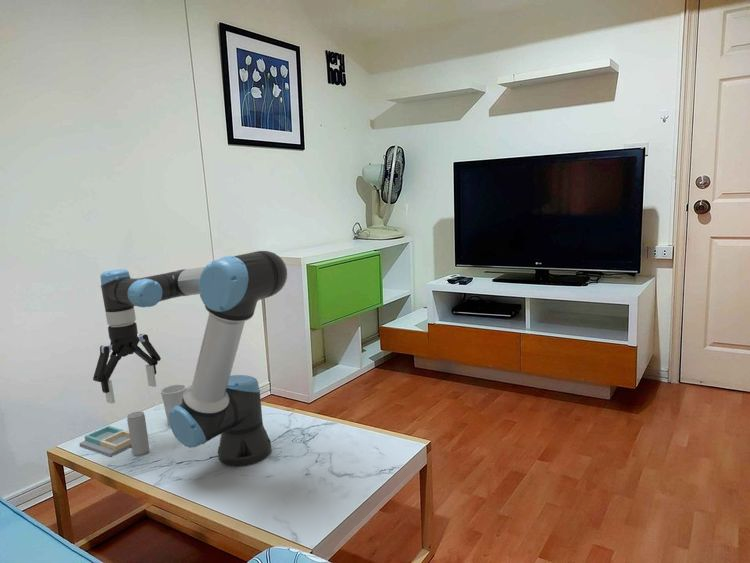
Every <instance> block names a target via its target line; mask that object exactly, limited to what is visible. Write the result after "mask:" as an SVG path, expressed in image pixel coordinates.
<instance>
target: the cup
mask: <svg viewBox="0 0 750 563" xmlns="http://www.w3.org/2000/svg"><path fill="white" fill-rule="evenodd" d="M186 389H187V386H186V385H185V384H180V383H179V384H178V383H177V384H172V385H168V386H165V387H163V388H162V389H160V394H161V399H162V401H163V406H164V412H165V416H166V422H167V426H168V427H170V425H169V419H168V416H169V412H170V410H171V409H172V408H174V407H175V406H178V405H180V404H181V402H182V398H183V394H184V391H185V390H186Z"/></svg>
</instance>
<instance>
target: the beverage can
mask: <svg viewBox="0 0 750 563" xmlns="http://www.w3.org/2000/svg"><path fill="white" fill-rule="evenodd" d="M126 420H127V427H128V432H129V435H130V441H131V447H130V448H131V452H132V454H133V455H134V456H142V455H146V454H147V453H149V451H150V445H149V444H150V443H149V442H150V441H149V435H148V429H147V421H146V415H145V413H144V411H133V412H131V413H129V414H128V415H127V419H126Z"/></svg>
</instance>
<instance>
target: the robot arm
mask: <svg viewBox="0 0 750 563" xmlns="http://www.w3.org/2000/svg"><path fill="white" fill-rule="evenodd" d="M287 268H288V267H287V266H286V263H285V262H284V259H283V258H282V257H280V255H278V254H276V253H275V252H272V251H269V250H258V251H253V252H247V253H243V254H238V255H234V256H233V255H226V256H223V257H220V258H217V259H214V260H212V261H211V262H209V263H207V264H206V265H205V266H200V267H195V268H183V269H179V270H176V271H175V270H174V271H169V272H165V273H160V274H154V275H150V276H144V277H140V278H133V277H132V278H131V275H130V273H129V271H128V270H127V269H123V268H122V269H111V270H107V271H103V272H102V273H101V274H100V288H101V293H102V298H103V299H102V300H103V305H104V310H105V311H104V312H105V316H106V317H105V318H106V322H107V323H106V324H107V325H108V327H107V331H108V338H109V340H110V344H109V345H100V347H99V355H98V356H99V357H98V360H97V363H96V367H95V371H94V373H93V377H92V380H93V382H98V383H100V386H101V391H102V393H104V394H105V399H106V403H109V404H115V403H116V401H115V394H114V387H113V382H112V380H110V378H111V377H112V375H113V372H114V370H115V369H116V366H117V365H118V363H119V361H121V359H122V357H124V358H125V357H127V356H129V355H133V354H136V355H137V357H139V358H140V359H141V360H143V361H144V362H145V363H147V364H146V365H145V370H146V378H147V379H146V380H147V386H148V387H153V388H155V387H157V382H156V375H157V368H156V367H157V366H156V365H158V362H160V361H161V356H160V355H159V353H158V352H157V350H156V349H155V347H154V346H153V345H152V343H151V342H150V338H149V335H148V334H145V333H140V334H139V335H138V332H139V331H138V325H137V322H135V321H136V320H137V318H136V312H135V307H138V308H150V307H154V306H156V305H157V304H158V303H159V302H163V301H166V300H170V299H175V298H180V297H188V296H196V295H199V298H200V299H201V301H202V303H203V305H204V309H205V310H206V311H207V312H208V317H207V320H206V321H207V322H206V325H205V330H204V335H203V338H202V342H201V346H200V349H199V350H200V351H199V355H198V359H197V361H196V362H197V363H196V366H195V372H194V375H193V380H192V383H191V385H189V386H187V387H186V390H185V391H184V394H183V398H182V402H181V404H180V405H178V406H175V407H174V408H172V409H171V410H170V412H169V416H168V419H169V425H170V426H169V428H170V430H171V432H172V434H173V435H174V437H175V439H176V440H177V441H178V442H179V443H180V444H181V445H183V446H184V447H187V448H197V447H199V446H201V445H204V444H206V443H207V442H210V441H211V440H212V439H214V438H217V437H218V436H219V435H220V438H219V439H220V440H219V446H218V449H217V459H218V461H219V462H220V463H221V464H223V465H224V466H227V467H246V466H250V465H253V464H257V463H259V462H261V461H262V460H265V459H266V458H267V457H268V456H269V455H270V454H271V452H272V450H273V449H272V443H271V439H270V438H269V435H268V433H267V431H266V429H265V426H264V423H263V422H264V421H263V415H262V414H263V413H262V400H261V390H260V387H259V386H260V385H259V381H258V379H257V378H256V377H254V376H251V375H245V374H243V375H242V374H236V375H235V374H233V375H231V374H232V370H233V366H234V362H235V358H236V355H237V352H238V349H239V345H240V341H241V338H242V334H243V330H244V328H245V327H244V325H245V323H246V321H249V320H250V319H252V318H253V317H254V314H255V311H256V307H257V303H258V302H259V301H261V300H264V299H268V298H270V297H273V296H275V295H277V294H278V293H279V292H281V291H282V289H284V288H283V287H284V286H285V284H286V282H287V279H288V269H287ZM139 343H141V345H142V347H143V348H144V349H145V351H146V352H147V353H146V352H145V351H144V350H143V349H142V348H141V347H140V346H139Z"/></svg>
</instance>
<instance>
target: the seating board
mask: <svg viewBox="0 0 750 563" xmlns="http://www.w3.org/2000/svg"><path fill="white" fill-rule="evenodd" d="M78 444H79V447H81V448H84V449H87V450H90V451H93V452H95V453H98V454H101V455H103V456H106V457H110V458H111V457H114V456H116V455H118V454H120V453H122V452H124V451H126V450H128V449H130V448H132V447H131V441H130V435H129V430H128V431H127V430H124V429H122V428H118V427H115V426H111V425H106V426H104V427H102V428H100V429H98V430H95V431H93V432H91V433H89V434H86V435H84V440H82V441H81V442H79V443H78Z"/></svg>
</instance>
